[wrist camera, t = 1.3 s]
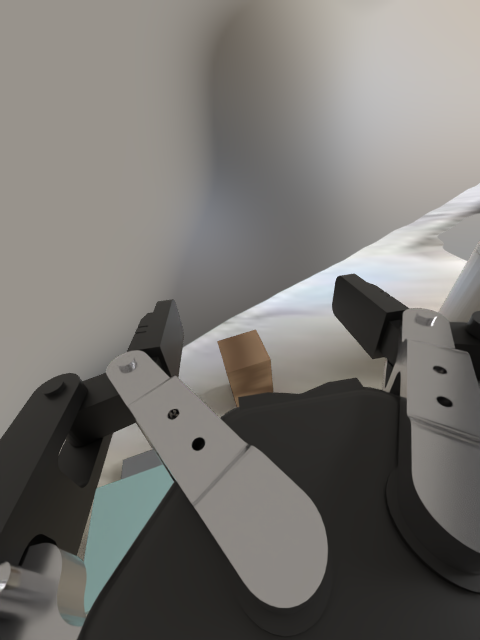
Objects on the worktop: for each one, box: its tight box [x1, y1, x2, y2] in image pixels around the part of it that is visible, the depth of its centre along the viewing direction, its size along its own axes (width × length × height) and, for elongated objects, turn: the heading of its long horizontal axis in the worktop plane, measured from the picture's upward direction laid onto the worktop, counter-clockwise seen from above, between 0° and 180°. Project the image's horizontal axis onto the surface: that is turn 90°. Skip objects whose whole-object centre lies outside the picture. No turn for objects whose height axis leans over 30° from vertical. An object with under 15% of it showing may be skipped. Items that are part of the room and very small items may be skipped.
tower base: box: [84, 450, 174, 614], centre depth 20 cm, size 9×16×7 cm, turn 16°
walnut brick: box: [217, 330, 273, 407], centre depth 30 cm, size 5×5×9 cm
